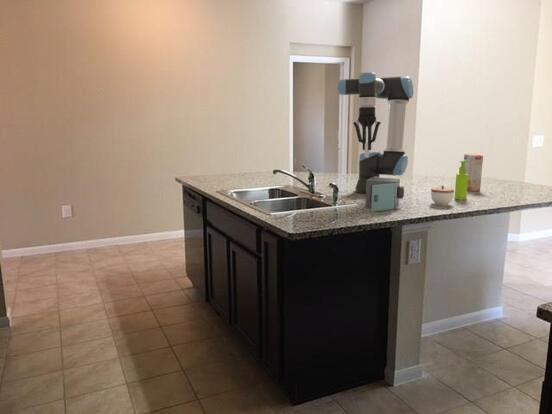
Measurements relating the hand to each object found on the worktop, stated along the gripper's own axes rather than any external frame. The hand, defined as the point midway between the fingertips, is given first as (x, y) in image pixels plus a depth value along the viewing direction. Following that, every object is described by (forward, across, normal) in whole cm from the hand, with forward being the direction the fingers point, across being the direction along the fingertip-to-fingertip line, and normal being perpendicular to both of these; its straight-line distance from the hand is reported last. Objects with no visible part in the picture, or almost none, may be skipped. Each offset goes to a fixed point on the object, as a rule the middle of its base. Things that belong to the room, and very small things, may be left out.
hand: (366, 157), depth 225 cm
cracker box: (+27, +46, +76) cm, 93 cm away
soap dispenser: (+26, +42, +40) cm, 64 cm away
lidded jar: (+25, +34, +19) cm, 46 cm away
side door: (+24, +10, -8) cm, 27 cm away
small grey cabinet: (+24, +8, +4) cm, 26 cm away
